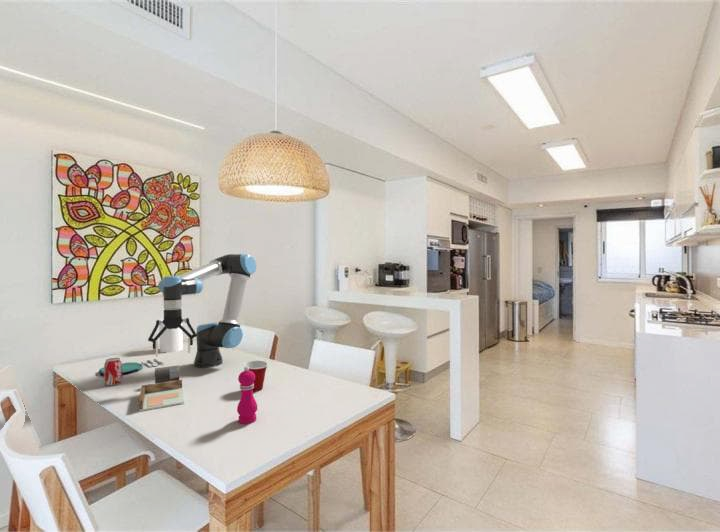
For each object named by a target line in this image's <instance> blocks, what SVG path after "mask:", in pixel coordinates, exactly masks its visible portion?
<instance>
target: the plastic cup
mask: <svg viewBox="0 0 720 532" xmlns="http://www.w3.org/2000/svg"><path fill="white" fill-rule="evenodd" d="M268 366H269V362H267V361H265V360H250V361H247V362H245V363H244V364H243V367H244V368H245V367H249V371H252V372H253V373H254V374H255V380H254V382H253V383H254V388H253V392H259V391H262V390H263V388H264V382H265V377H266V371H267V368H268Z"/></svg>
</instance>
